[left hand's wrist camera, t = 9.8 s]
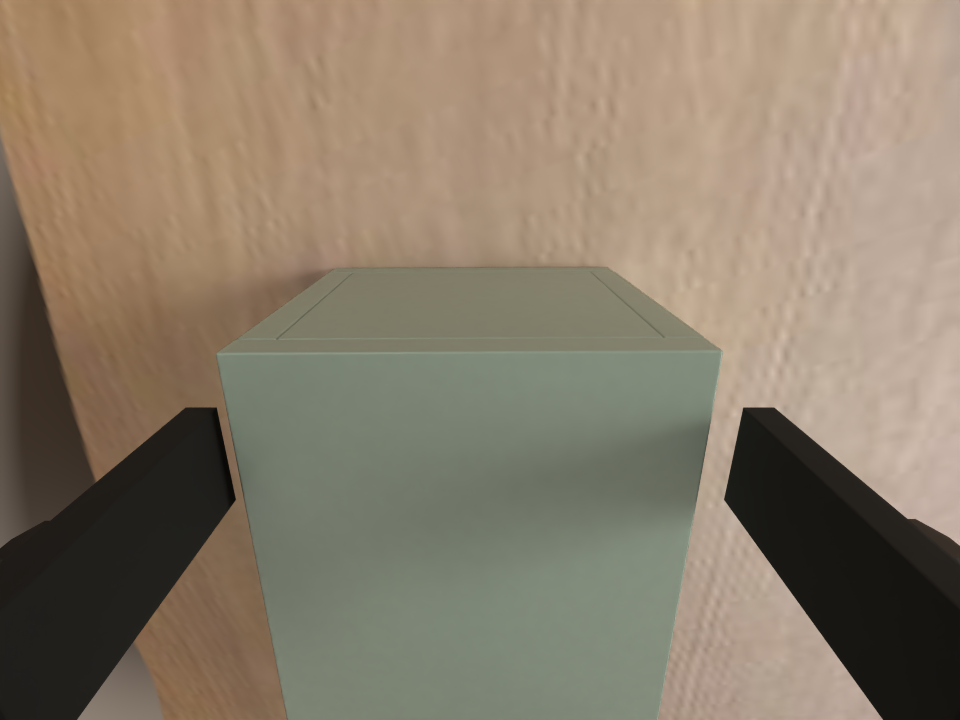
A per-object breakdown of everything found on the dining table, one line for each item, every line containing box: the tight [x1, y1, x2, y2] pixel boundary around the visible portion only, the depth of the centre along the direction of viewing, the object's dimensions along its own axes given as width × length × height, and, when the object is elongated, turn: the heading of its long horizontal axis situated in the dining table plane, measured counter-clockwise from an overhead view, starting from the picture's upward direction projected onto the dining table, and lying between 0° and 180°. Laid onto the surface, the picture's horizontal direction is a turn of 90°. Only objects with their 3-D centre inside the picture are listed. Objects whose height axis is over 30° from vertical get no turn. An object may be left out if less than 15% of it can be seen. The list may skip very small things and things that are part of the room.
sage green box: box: [216, 267, 723, 720], centre depth 19 cm, size 17×12×10 cm
